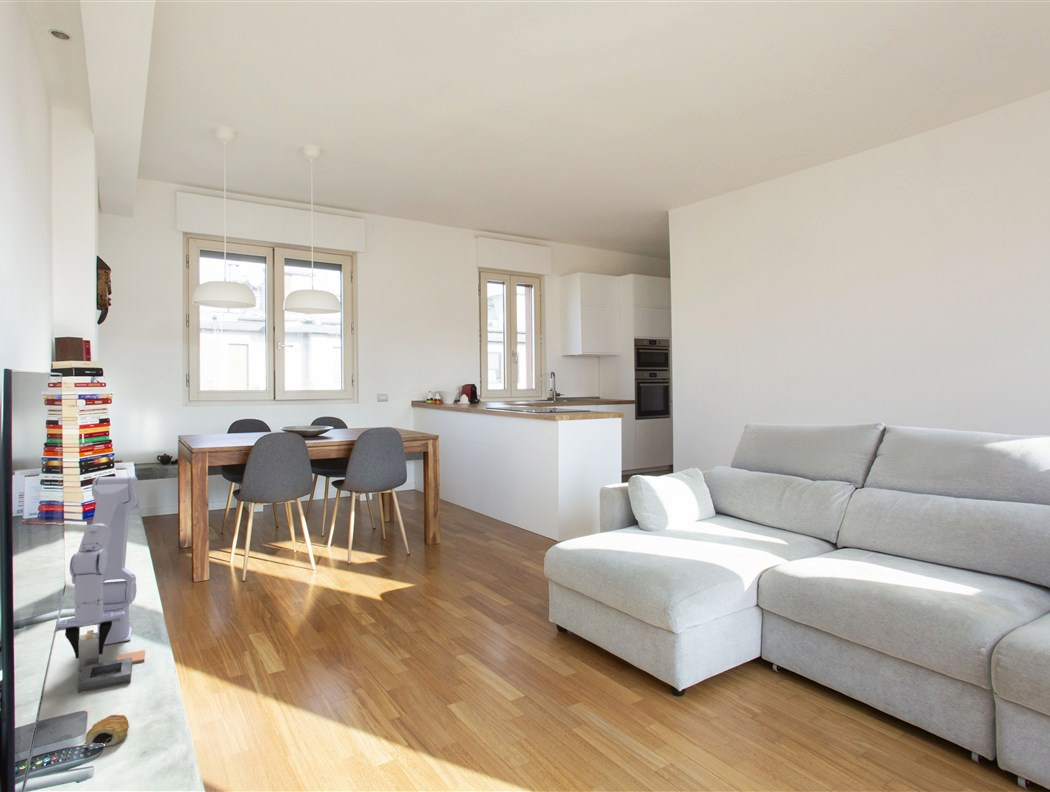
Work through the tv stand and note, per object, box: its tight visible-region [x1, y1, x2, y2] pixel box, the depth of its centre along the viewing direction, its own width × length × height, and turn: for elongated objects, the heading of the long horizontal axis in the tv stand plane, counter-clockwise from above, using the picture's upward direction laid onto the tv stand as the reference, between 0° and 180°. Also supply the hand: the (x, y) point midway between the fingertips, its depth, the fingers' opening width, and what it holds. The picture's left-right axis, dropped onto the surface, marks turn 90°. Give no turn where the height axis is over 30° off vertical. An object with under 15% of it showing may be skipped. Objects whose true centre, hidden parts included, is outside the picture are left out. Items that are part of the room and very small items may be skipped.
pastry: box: [83, 714, 130, 747], centre depth 124 cm, size 9×7×4 cm
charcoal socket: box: [77, 657, 133, 694], centre depth 147 cm, size 10×10×2 cm
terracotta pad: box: [115, 649, 146, 665], centre depth 157 cm, size 6×6×1 cm
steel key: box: [78, 629, 101, 671], centre depth 153 cm, size 5×4×8 cm
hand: (89, 654), depth 153 cm, fingers closed on steel key, 4 cm apart
